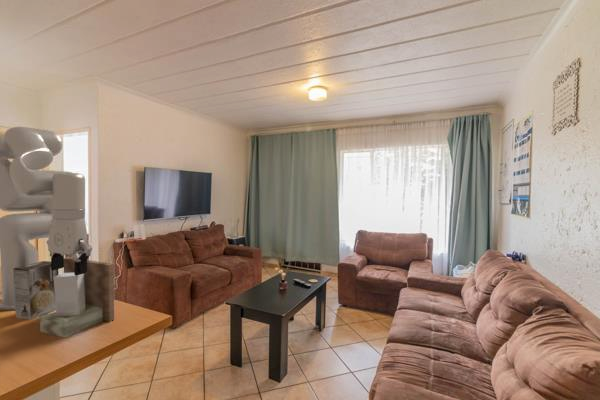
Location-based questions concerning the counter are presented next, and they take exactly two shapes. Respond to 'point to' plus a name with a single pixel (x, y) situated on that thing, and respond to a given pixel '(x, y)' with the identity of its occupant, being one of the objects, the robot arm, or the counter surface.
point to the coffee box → (34, 289)
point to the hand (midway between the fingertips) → (68, 271)
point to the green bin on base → (96, 300)
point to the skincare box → (69, 294)
